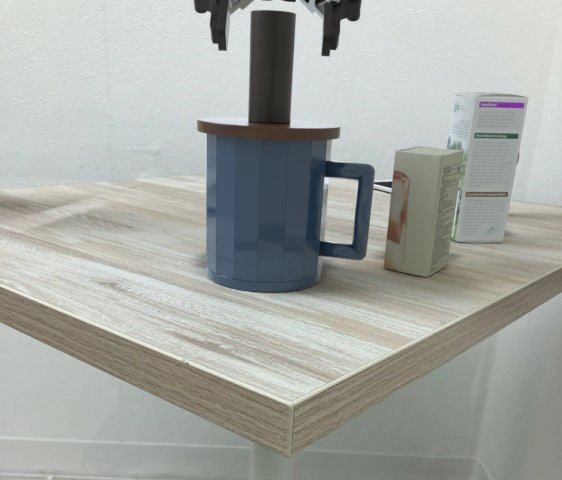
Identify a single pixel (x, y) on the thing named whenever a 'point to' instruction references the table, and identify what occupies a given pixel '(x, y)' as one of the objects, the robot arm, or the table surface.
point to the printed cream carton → (422, 209)
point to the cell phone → (383, 185)
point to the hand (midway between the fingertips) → (274, 45)
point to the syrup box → (485, 161)
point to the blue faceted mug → (276, 212)
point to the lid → (270, 87)
